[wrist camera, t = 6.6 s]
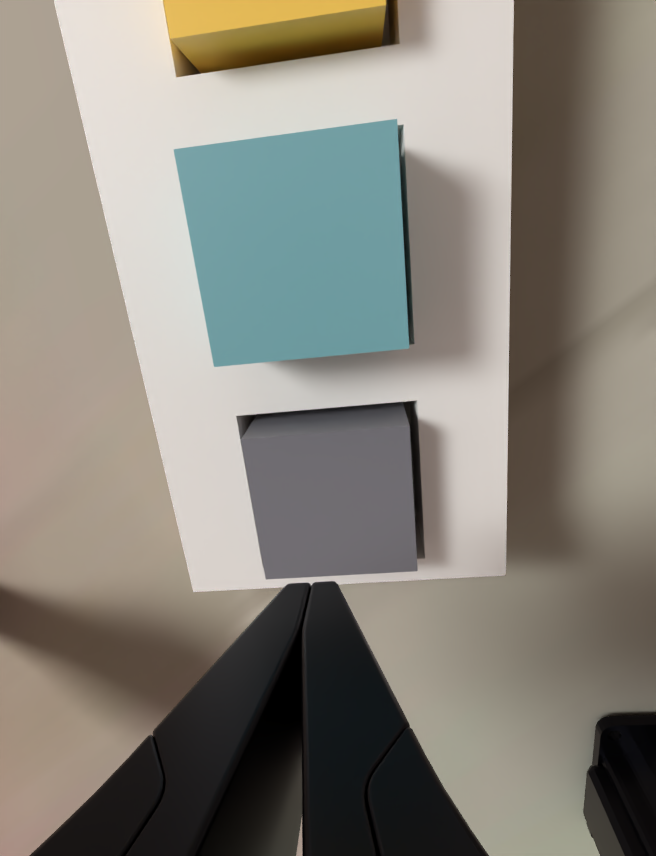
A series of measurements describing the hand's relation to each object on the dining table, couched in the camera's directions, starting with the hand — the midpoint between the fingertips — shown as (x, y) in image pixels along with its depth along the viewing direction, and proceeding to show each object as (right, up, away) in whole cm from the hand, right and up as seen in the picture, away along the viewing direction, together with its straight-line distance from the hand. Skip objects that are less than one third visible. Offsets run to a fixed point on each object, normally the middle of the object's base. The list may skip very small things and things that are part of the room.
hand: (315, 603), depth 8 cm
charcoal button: (0, +2, +7) cm, 7 cm away
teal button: (0, +7, +4) cm, 8 cm away
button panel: (0, +8, +6) cm, 10 cm away
